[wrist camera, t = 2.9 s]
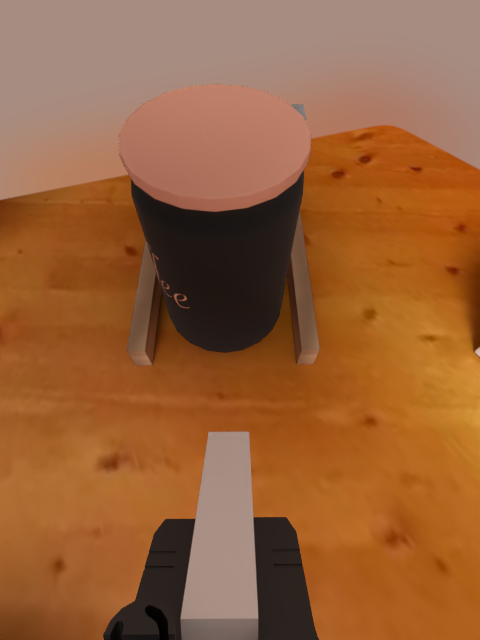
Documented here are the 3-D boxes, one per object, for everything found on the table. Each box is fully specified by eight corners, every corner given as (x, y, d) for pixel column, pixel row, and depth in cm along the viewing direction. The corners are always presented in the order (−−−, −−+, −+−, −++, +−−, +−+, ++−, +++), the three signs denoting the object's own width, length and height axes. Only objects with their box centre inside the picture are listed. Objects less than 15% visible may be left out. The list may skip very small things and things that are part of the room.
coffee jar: (174, 267, 37) (131, 83, 22) (275, 266, 38) (301, 82, 22) (166, 359, 32) (100, 199, 16) (283, 357, 32) (326, 197, 17)
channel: (135, 365, 32) (97, 304, 23) (162, 187, 44) (144, 104, 35) (313, 364, 32) (340, 302, 23) (290, 187, 44) (303, 104, 35)
